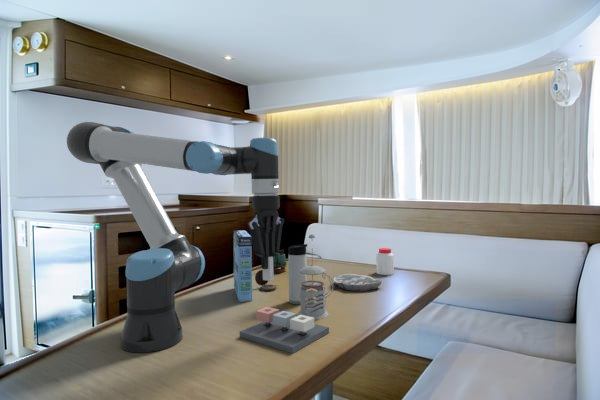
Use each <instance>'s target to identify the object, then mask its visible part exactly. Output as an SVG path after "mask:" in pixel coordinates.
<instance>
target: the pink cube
mask: <svg viewBox="0 0 600 400" xmlns="http://www.w3.org/2000/svg"><path fill="white" fill-rule="evenodd" d="M279 312H280V309H279V308H278V309H277V308H273V307H269V306H265V307H263V308H261V309H258V310H256V311H255V313H256V314H255V318H256V319H255V320H257V321H261V322H263V321H264V322H265V325H270V322H271V321H273V315H274V314H276V313H279Z"/></svg>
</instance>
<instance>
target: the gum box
mask: <svg viewBox="0 0 600 400" xmlns="http://www.w3.org/2000/svg"><path fill="white" fill-rule="evenodd" d="M232 235H233V288H234V292H235V293H236V297H237V300H238V302H239V303H243V302H246V303H247V302H252V301H253V266H252V265H253V262H252V261H253V258H252V257H253V255H252V253H253V252H252V245H253V241H252V237H251V234H249V232H248V231H246V230H233V234H232Z"/></svg>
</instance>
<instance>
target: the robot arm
mask: <svg viewBox="0 0 600 400" xmlns="http://www.w3.org/2000/svg"><path fill="white" fill-rule="evenodd" d="M66 146H67V149H68V151H69V152H70V154H71V155H72V156H73V157H74V159H77V160H79V161H81V162H83V163H87V164H93V165H94V164H96V165H99V166H100V167H101V169H102V171H103V174H104V175H105V177H107V178H111V179H113V180H114V182H115V184H116V186H117V187H118V190H119V191H120V193H121V195H122V198H123V199H124V200H125V202H126V204H127V206H128V208H129V210H130V213H131V214H132V216H133V217H134V220H135V221H136V223H137V225H138V226H139V228H140V231H141V233H142V234H143V236H144V238H145V240H146V242H147V243H148V245H149V247H150V248H149V249H147V250H145V249H144V250H140V251H137V252H134V253H132V254H131V255H129V256H128V258H127V259H126V265H125V270H124V271H125V272H124V274H125V282H126V283H125V284H126V285H125V286H126V306H127V307H126V308H127V309H126V310H127V313H126V314H127V315H126V317H125V322H124V324H123V328H122V332H121V335H120V347H121V349H122V350H124V351H127V352H131V353H151V352H156V351H162V350H165V349H168V348H171V347H173V346H175V345H177V344H178V343H180V342H181V340H183V327H182V324H181V322H180V318H179V317H178V313H177V311H176V306H175V305H176V301H175V299H176V298H175V296H176V295H175V292H177V291H180V290H181V289H184V288H186V287H189V286H191V285H192V284H194V283H195V282H197V281H199V279H200V278H201V277H202V275H203V274H204V271H205V268H206V267H205V266H206V260H205V256H204V254H203V252H202V251H201V249H200V248H199V247H197V246H194V245H192V244H190V242H189V240H188V239H187V237H186V236H185V235H183V234H179V233H178V232H177V230H176V228H175V226H174V224H173V222H172V221H171V219H170V217H169V215H168V214H167V211H166V210H165V207H164V206H163V204H162V202H161V200H160V198H159V197H158V195H157V193H156V191H155V189H154V187H153V185H152V184H151V182H150V180H149V179H148V177H147V174H146V173H145V171H144V169H143V168H142V166H143V165H146V166H147V165H148V166H155V167H162V168H171V169H175V170H176V169H177V170H178V169H179V170H184V171H191V172H196V173H199V174H206V175H207V174H213V175H216V176H228V175H230V176H231V175H248V174H250V175H251V176H250V177H251V194H253V195H252V197H251V206H252V209H253V210H254V214H253V219H252V220H251V221H247V227H248V229H249V232H250V236H251V237H252V245H253V251H254V254H255V256H257V257H260V263H261V264H260V265H261V270H263V280H266V281H268V282H273V281H274V280H275V275H274V274H275V273H274V270H273V267H274V256H277V254H276V253H280V252H279V251H280V247H281V240H282V231H283V226H284V223H285V218H284V217H283V218H281V217H279V212H278V209H279V208H280V206H281V204H280V195H278V194H279V193H280V187H279V186H280V185H279V181H280V180H279V179H280V177H279V173H280V172H279V148H278V142H277V140H276V139H275V138H274V137H273V138H272V137H255V138H252V139H251V140H250V142H249V146H240V147H239V146H237V147H232V146H231V147H230V146H226V145H222V144H217V143H213V142H210V141H205V140H203V141H202V140H201V141H197V140H195V141H194V140H188V139H182V138H181V139H179V138H172V137H164V136H156V135H148V134H140V133H138V134H137V133H134V132H133V131H131V130H129V129H127V128H124V127H120V126H111V125H107V124H102V123H100V122H99V123H98V122H94V121H85V122H84V121H83V122H80V123H78V124H75V125H74V126H73V127H72V128H70V130H69V131H68V134H67V137H66Z"/></svg>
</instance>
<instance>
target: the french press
mask: <svg viewBox="0 0 600 400" xmlns="http://www.w3.org/2000/svg"><path fill="white" fill-rule="evenodd" d="M315 238H316V236H315V235H314V234H309V236H308V239H311V240H314V239H315ZM313 256H314V254H313V249H311V265H307V266H306V267H303V268H302V269H300V270H299V271H300V273H302V274H306V275H307V276H312V277H311V278H312V279H311V280H307V281H304V282H302V283H301V285H302V286H303V287H301V288H300V300H301V304H300V311H298V313H296V316H299V315H305V316H309V317H313V318H314V320H322V319H325V318H327V317H329V312H328V311H327V310H326V309H327V307H326V303H327V301H326V300H327V298H328V297H330V295H331V294H332V292H333V291H334V281H333V279H332V277H331V276H330V275H329V274H327V273H326V269H325V268H324V267H322V266H319V265H314V263H313V261H314V259H313ZM316 275H317V276H318V275H321V277H322V279H323V280H325V279H326V276H327V277H328V280H329V289H328V291H327V292H326V287H324V285H325V283H324V281H321V280H314V276H316ZM331 288H332V289H331ZM310 289H311V290H310ZM313 289H315V290H313ZM306 290H307V291H306ZM306 298H307V300H305V299H306Z"/></svg>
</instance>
